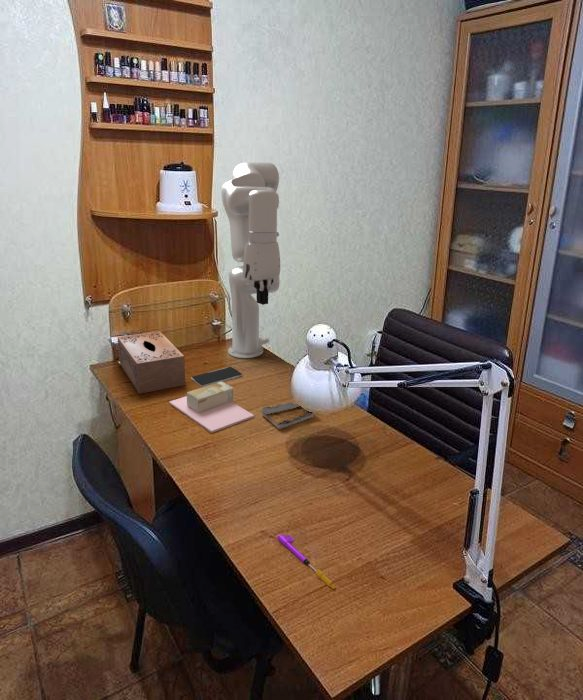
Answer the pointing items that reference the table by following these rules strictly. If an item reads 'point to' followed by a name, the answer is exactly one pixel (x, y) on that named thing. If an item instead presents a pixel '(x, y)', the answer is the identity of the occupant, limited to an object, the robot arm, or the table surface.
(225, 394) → the skincare box
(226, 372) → the smartphone
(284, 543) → the purple and yellow tool
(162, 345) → the tissue box cover
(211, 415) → the nail mat
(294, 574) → the table surface
